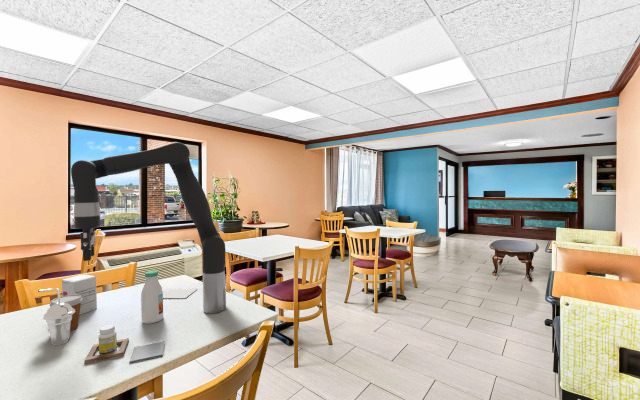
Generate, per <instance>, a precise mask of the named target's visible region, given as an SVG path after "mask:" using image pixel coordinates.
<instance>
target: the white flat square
mask: <svg viewBox="0 0 640 400" xmlns="http://www.w3.org/2000/svg"><path fill="white" fill-rule="evenodd" d="M197 290H198V288H165V289H164V290H162V291H163V299H186V298H187V297H189V296H190V295H191V294H193V293H194V292H195V291H197Z"/></svg>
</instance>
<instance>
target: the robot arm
mask: <svg viewBox="0 0 640 400" xmlns="http://www.w3.org/2000/svg"><path fill="white" fill-rule="evenodd" d="M158 165H169V166H170V168H171V169H172V172H173V174H174V176H175V178H176V181H177V184H178V190H179V192H180V196H181V199H182V202H183V204H184V207H185V209H186V211H187V213H188V216H189V218H190V219H191V220H192V222H193V224H194V226H195V228H196V230H197V233H198V236H199V239H200V243H201V248H202V303H203V304H202V307H203V309H202V310H203V312H204V313H206V314H217V313H220V311H221V312H223V311H226V310H227V296H226V295H227V293H226V292H227V288H226V276H225V274H226V273H225V272H226V270H225V269H226V267H225V266H226V244H225V241H224V239H223V238H222V237H221V236H220V234H219V231H218V230H217V228H216V226H215V224H214V221H213V217H212V211H211V208H210V207H211V206H210V204H209V200H208V198H207V196H206V193H205V191H204V188H203V187H202V185H201V183H200V182H199V180H198V179H197V176H196V175H195V173H194V171H193V168H192V164H191V161H190V149H189V147H188V146H187V145H186V144H185V143H182V142H178V141H173V142H171V143H169V144H165V145H162V146H159V147H155V148H151V149H147V150H142V151H136V152H135V151H134V152H129V153H123V154H117V155H110V156H106V157H104V158H101V159H96V160H95V159H94V160H84V159H82V160H78V161H75V162H74V163H73V164H72V165H71V167H70V168H71V169H70V176H71V181H72V186H73V190H74V191H73V192H74V193H73V197H74V198H73V199H74V205H73V220H74V221H73V222H74V229H78V230H80V229H82V232H80V234H79V235H80V250H81V251H82V260H83V261H84V262H86V261H88V262H89V261H91V260H92V257H94V256H95V245H96V244H95V243H96V231H95V230H96V229H97V228H100V227H101V208H100V203H99V200H100V199H99V190H98V188H97V181H96V180H97V179H101V178H105V177H109V176H114V175H115V176H116V175H119V174H125V173H129V172H134V171H138V170H142V169H146V168H148V167H153V166H158ZM225 309H226V310H225ZM222 310H223V311H222Z"/></svg>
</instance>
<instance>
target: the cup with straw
mask: <svg viewBox="0 0 640 400" xmlns="http://www.w3.org/2000/svg"><path fill="white" fill-rule="evenodd" d="M53 291H57V298H58V303H56V304H54V305H52V306H51V307H50V306H49V307H48V308H47V310H46V313H44V315H43V316H42V320H45V321H46V325H47V327H48V332H49V335H50V336H49V337H50V341H51V345H52V346H60V345H63V344H66V343H68V342H69V341H70V339H69V338H70V334H71V331H70V326H71V320H72V315H73V314H74V313H75V309H74V308H72V307H71V305H70V304H68V303H64V302H61V298H60V297H61V289H59V288H55V287H54V288H47V289H39V290H38V293H44V292H53Z"/></svg>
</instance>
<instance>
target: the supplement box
mask: <svg viewBox="0 0 640 400" xmlns="http://www.w3.org/2000/svg"><path fill="white" fill-rule="evenodd" d="M61 289H62V290H61V295H62V296H66V295H74V294H77V295H81V298H82V301H81V306H80V314H79V316H80V315H83V314H86V313H88V312H91V311H94V310H97V309H98V299H97V297H98V296H97V276H94V275H89V274H79V275H76V276H70V277H67V278H63V279H61ZM62 296H61V297H62Z"/></svg>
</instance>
